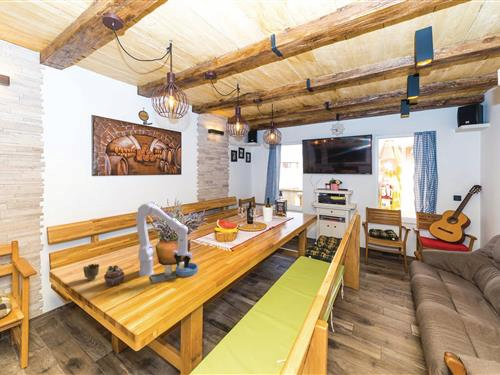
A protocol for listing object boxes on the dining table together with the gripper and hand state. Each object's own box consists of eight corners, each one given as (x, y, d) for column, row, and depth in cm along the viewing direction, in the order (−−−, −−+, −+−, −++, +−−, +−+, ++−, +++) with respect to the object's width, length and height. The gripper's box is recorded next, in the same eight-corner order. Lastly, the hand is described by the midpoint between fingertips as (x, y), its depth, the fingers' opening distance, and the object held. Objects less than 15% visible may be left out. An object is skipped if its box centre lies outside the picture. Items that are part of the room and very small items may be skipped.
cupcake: (126, 283, 124) (126, 266, 123) (106, 289, 117) (105, 271, 117) (121, 277, 131) (121, 261, 130) (102, 282, 124) (102, 265, 124)
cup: (94, 275, 132) (94, 262, 132) (102, 278, 129) (101, 265, 128) (80, 280, 126) (80, 267, 125) (88, 284, 122) (87, 270, 122)
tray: (149, 277, 132) (149, 275, 132) (172, 272, 139) (172, 270, 139) (152, 284, 123) (152, 282, 123) (176, 279, 131) (176, 277, 130)
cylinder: (163, 274, 135) (163, 265, 134) (171, 272, 137) (171, 264, 137) (165, 277, 131) (165, 268, 131) (172, 275, 134) (173, 267, 133)
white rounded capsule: (177, 272, 137) (177, 263, 137) (182, 270, 141) (182, 261, 141) (182, 273, 135) (182, 264, 136) (187, 271, 139) (187, 262, 139)
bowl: (173, 270, 142) (173, 265, 142) (193, 265, 149) (193, 260, 149) (178, 279, 131) (179, 273, 130) (200, 274, 138) (201, 268, 138)
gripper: (169, 245, 137) (169, 266, 138) (187, 249, 130) (187, 271, 131) (177, 242, 143) (177, 262, 144) (195, 245, 137) (194, 267, 138)
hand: (182, 266), depth 138 cm, fingers open, 5 cm apart
